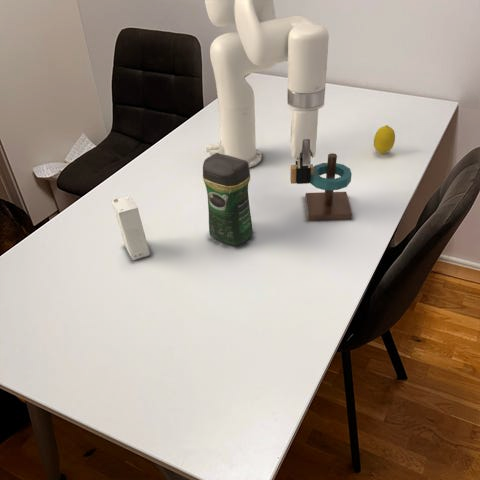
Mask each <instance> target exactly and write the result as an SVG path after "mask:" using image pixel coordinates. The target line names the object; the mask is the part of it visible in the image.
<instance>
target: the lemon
mask: <svg viewBox="0 0 480 480" xmlns="http://www.w3.org/2000/svg"><path fill="white" fill-rule="evenodd" d="M395 140H396V133H395V130H394V129H393V127H391V126H389V125H387V124H386V125H384V126H381V127H380V128H378V129H377V131H376V132H375V135H374V136H373V147H374V150H375V151H377V152H378V153H380V154H381V155H384V154H385V153H388V152H390V151H391V150H392V148H393V147H394V145H395V142H396V141H395Z"/></svg>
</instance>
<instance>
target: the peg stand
mask: <svg viewBox="0 0 480 480" xmlns="http://www.w3.org/2000/svg"><path fill="white" fill-rule="evenodd" d="M337 161H338V155H337V154H336V153H334V152H333V153H328V154H327V162H326V163H327V172H326V174H325V178H327V179H336V174H335V172H336V163H338V162H337ZM304 198H305V207H306V212H307V220H308V221H311V222H312V221H339V220H340V221H341V220H352V218H353V212H352V208H351V203H350V201H349V197H348V193H347V191H335V190H324V191H321V192H319V191H318V192H305V195H304Z"/></svg>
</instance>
